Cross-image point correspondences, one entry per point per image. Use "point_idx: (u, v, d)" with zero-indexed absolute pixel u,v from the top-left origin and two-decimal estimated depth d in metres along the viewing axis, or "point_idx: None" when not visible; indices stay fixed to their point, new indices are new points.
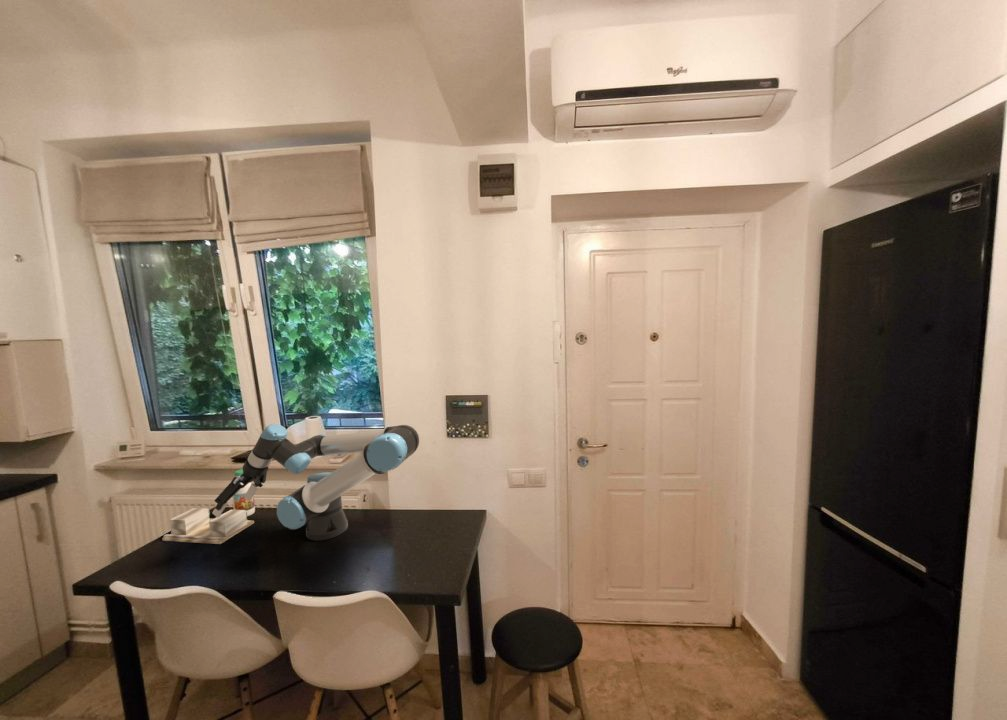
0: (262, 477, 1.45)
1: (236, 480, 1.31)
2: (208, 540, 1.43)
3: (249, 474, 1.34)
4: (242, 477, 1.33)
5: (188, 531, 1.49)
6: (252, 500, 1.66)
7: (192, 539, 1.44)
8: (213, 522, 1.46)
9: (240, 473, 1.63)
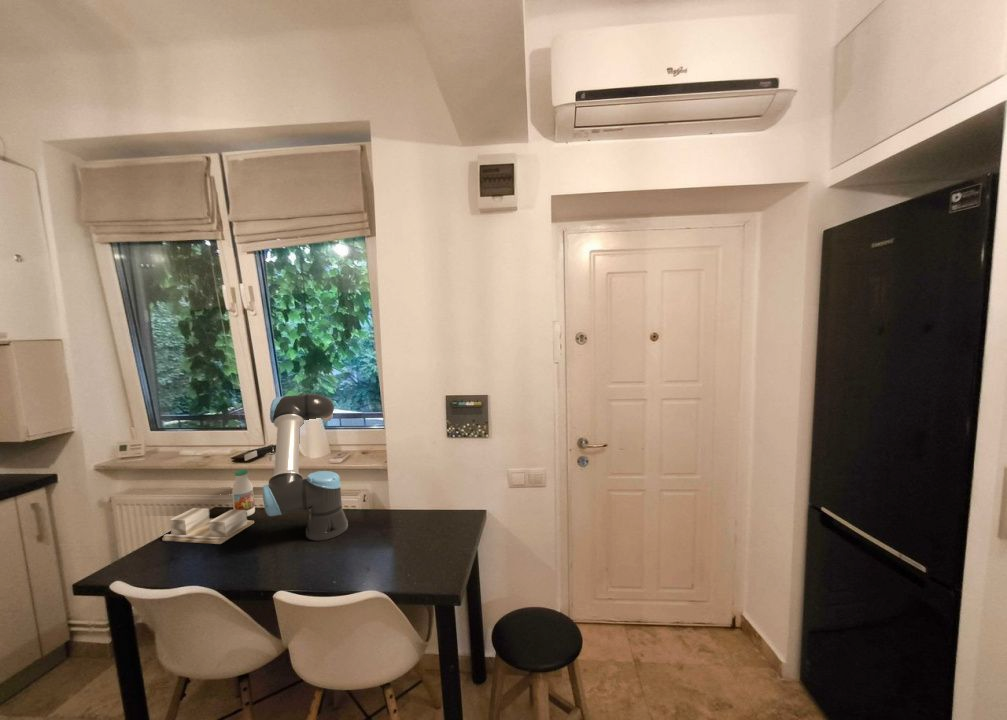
0: None
1: None
2: (208, 540, 1.43)
3: None
4: None
5: (188, 531, 1.49)
6: (252, 500, 1.66)
7: (192, 539, 1.44)
8: (213, 522, 1.46)
9: (240, 473, 1.63)
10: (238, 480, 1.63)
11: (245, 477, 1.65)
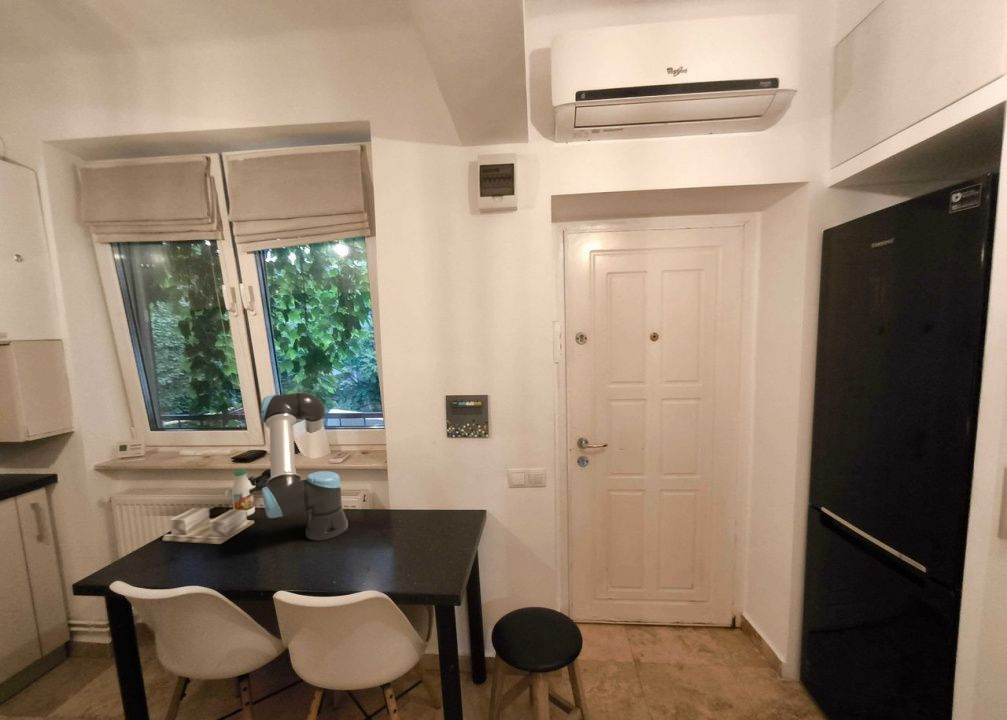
0: None
1: None
2: (208, 540, 1.43)
3: None
4: None
5: (188, 531, 1.49)
6: (252, 500, 1.66)
7: (192, 539, 1.44)
8: (213, 522, 1.46)
9: (239, 473, 1.63)
10: (237, 480, 1.63)
11: (244, 477, 1.65)
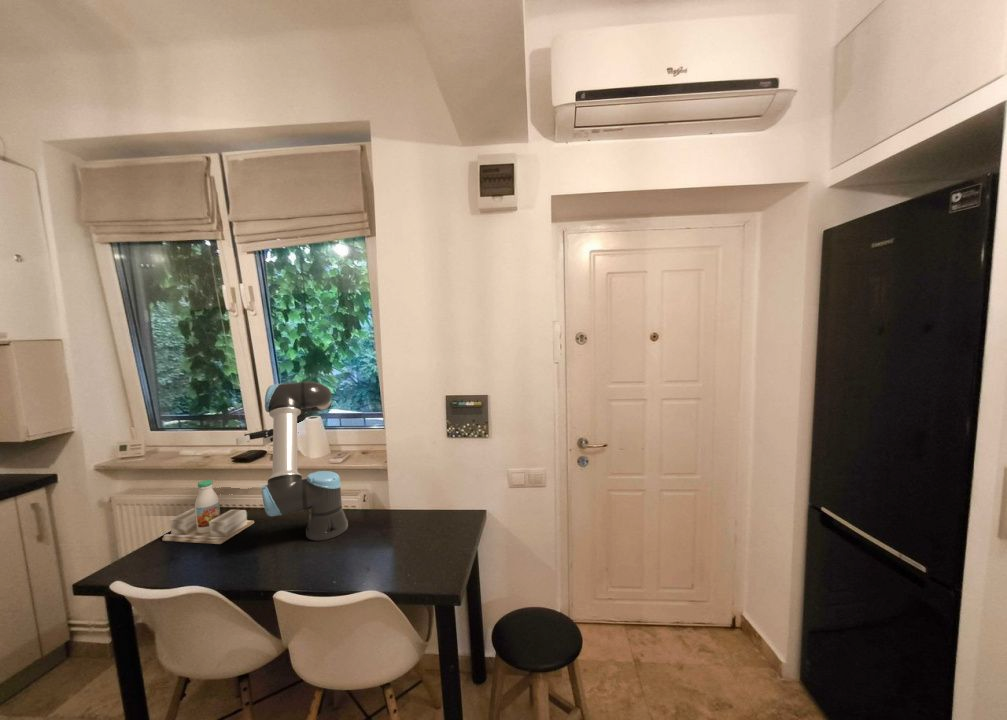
0: None
1: None
2: (208, 540, 1.43)
3: None
4: None
5: (188, 531, 1.49)
6: (217, 514, 1.51)
7: (192, 539, 1.44)
8: (213, 522, 1.46)
9: (203, 484, 1.48)
10: (201, 492, 1.49)
11: (209, 489, 1.50)
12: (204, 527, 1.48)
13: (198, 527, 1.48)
